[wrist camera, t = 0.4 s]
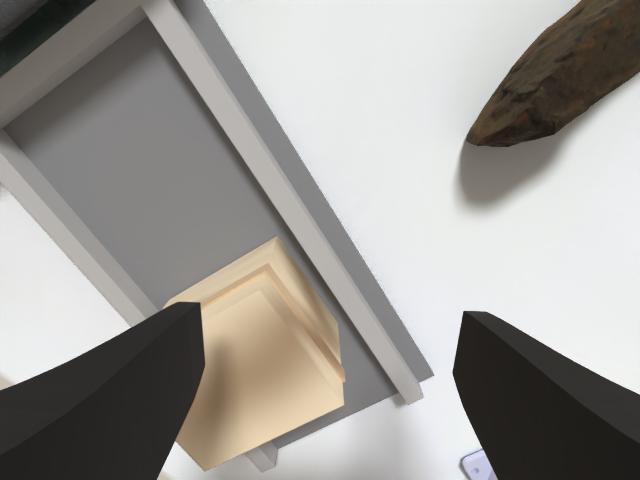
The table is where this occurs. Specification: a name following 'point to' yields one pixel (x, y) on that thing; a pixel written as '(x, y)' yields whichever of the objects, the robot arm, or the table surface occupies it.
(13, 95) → the crate bay
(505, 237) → the table surface
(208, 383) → the block
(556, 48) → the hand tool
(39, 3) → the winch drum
